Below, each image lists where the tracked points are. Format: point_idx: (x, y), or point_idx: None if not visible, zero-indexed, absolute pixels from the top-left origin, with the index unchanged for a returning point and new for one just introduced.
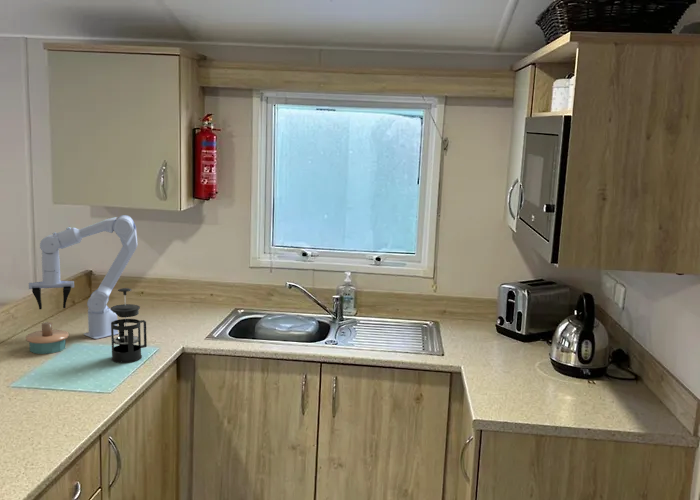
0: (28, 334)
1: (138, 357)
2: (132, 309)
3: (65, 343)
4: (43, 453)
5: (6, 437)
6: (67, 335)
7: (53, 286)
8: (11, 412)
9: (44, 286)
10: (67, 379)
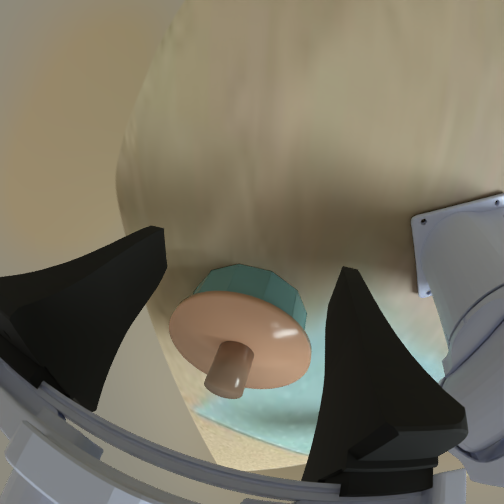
0: (172, 316)
1: None
2: None
3: (305, 319)
4: (237, 466)
5: (211, 453)
6: (300, 377)
7: (188, 477)
8: (208, 440)
9: (96, 449)
10: (269, 429)
